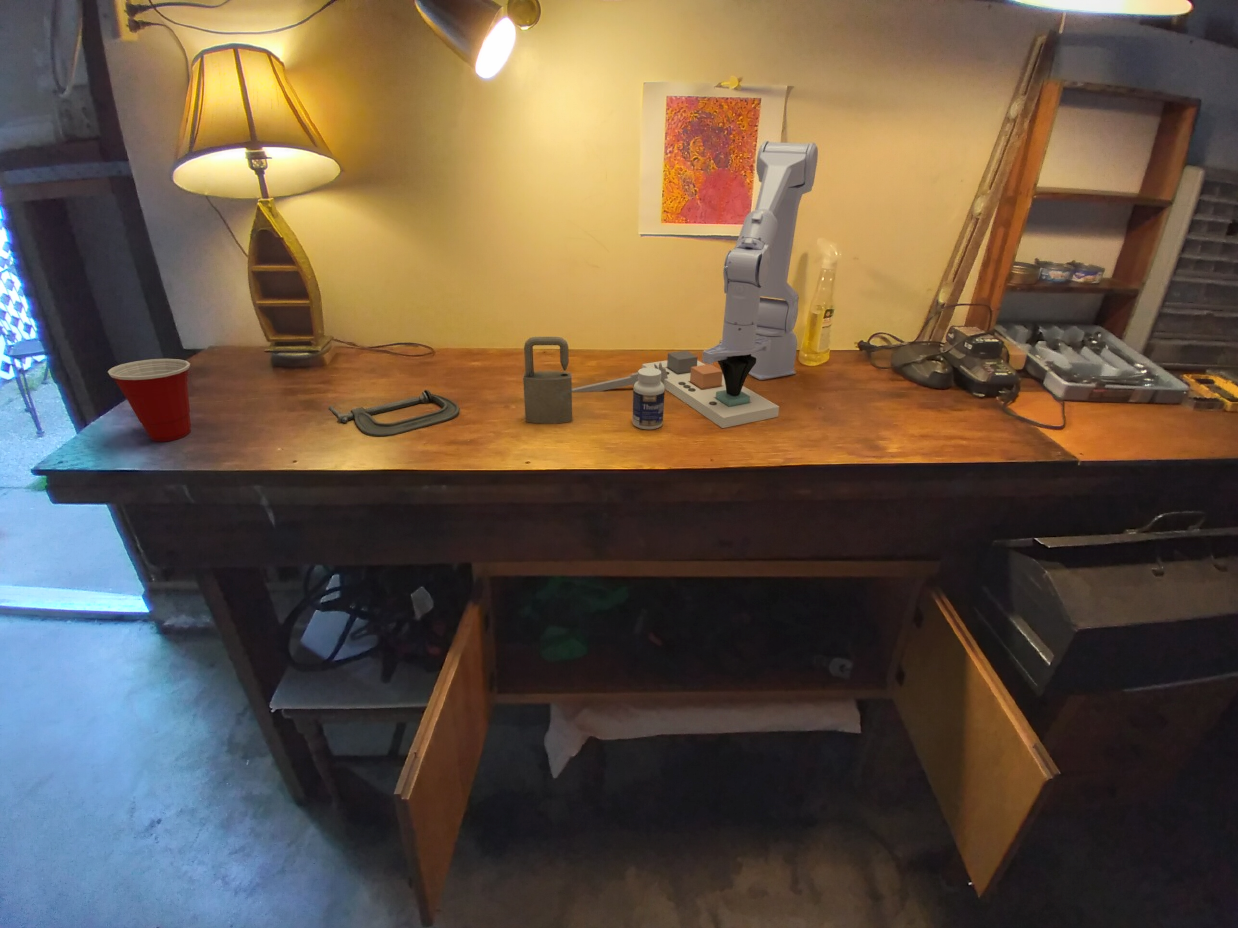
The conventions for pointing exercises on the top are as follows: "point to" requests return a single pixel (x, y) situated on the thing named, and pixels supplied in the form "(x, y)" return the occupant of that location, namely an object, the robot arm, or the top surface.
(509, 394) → the top surface
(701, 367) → the button three
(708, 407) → the button panel
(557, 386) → the padlock
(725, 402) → the button one
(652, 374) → the pill bottle
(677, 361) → the button two
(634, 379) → the caliper
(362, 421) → the c clamp
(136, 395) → the plastic cup
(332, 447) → the top surface
